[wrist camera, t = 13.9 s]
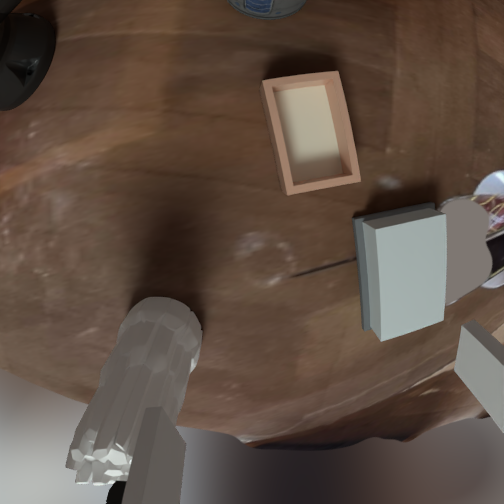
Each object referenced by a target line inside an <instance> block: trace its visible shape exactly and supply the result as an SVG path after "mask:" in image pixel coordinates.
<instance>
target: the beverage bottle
mask: <svg viewBox="0 0 504 504" xmlns="http://www.w3.org/2000/svg"><path fill="white" fill-rule="evenodd" d="M227 1H228V2H229V4H230V5H231V6H232V7H233V8H235V9H236V10H237V11H239V12H240V13H243V14H245V15H247V16H250V17H253V18H257V19H264V20H273V19H281V18H284V17H288V16H290V15H292V14H294V13H296V12H297V11H299V10H300V9H301V8H302V7H303V5H304V4H305V3H306V0H227Z"/></svg>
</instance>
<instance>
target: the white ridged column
mask: <svg viewBox="0 0 504 504" xmlns="http://www.w3.org/2000/svg"><path fill="white" fill-rule="evenodd" d="M202 332H203V331H202V330H201V325H200V323H199V321H198V319H197V317H196V315H195V314H194V312H193V311H190V308H189V307H188V306H186V305H185V304H184V303H182V302H179V301H177V300H175V299H171V298H168V297H148V298H145V299H143V300H142V301H140V302H139V303H137V304H136V305H135V306H134V307H133V308H132V309H131V310H130V311H129V313H128V315H127V316H126V318H125V319H124V321H123V322H122V324H121V325H120V328H119V332H118V337H117V344H116V345H115V347H114V349H113V350H112V352H111V354H110V356H109V357H108V359H107V361H106V363H105V364H104V366H103V368H102V370H101V374H100V382H99V387H98V389H97V391H96V393H95V394H94V396H93V398H92V400H91V402H90V404H89V405H88V407H87V409H86V411H85V413H84V415H83V417H82V419H81V421H80V423H79V425H78V426H77V428H76V431H75V435H74V438H73V441H72V443H71V445H70V449H69V453H68V457H67V461H66V468H69V469H73V470H77V475H76V480H75V482H76V483H78V484H87V483H89V482H90V480H91V481H92V483H93V485H98V486H102V485H105V484H112V483H115V481H116V480H117V481H127V478H128V474H129V470H130V466H131V462H132V458H133V454H134V450H135V446H136V442H137V438H138V435H139V431H140V427H141V423H142V420H143V416H144V413H145V409H146V408H149V407H160V406H162V407H163V409H164V410H165V412H166V414H167V415H168V417H169V418H170V420H171V421H172V423H173V425H174V426H176V421H177V417H178V413H179V412H180V410H181V407H182V405H183V402H184V398H185V393H186V388H187V383H188V379H189V374H190V373H191V371H192V370H193V369H194V368H195V366H196V364H197V361H198V359H199V354H200V348H201V343H202Z"/></svg>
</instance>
